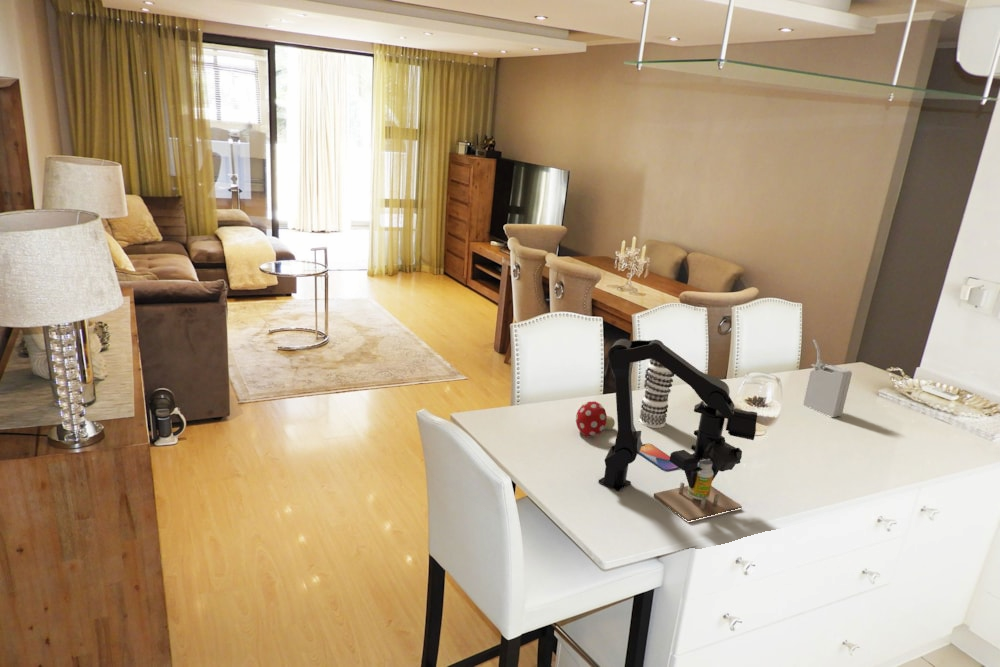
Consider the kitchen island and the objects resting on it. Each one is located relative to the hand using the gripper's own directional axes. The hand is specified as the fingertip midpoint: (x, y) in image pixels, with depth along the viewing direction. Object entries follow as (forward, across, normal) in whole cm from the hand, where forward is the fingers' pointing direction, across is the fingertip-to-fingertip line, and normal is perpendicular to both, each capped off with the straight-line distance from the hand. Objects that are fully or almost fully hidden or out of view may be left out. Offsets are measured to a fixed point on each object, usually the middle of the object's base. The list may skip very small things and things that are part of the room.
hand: (699, 486), depth 170 cm
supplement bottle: (+3, 0, 0) cm, 3 cm away
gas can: (+5, +92, +36) cm, 99 cm away
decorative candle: (+5, +22, +45) cm, 50 cm away
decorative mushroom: (+5, 0, +44) cm, 44 cm away
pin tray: (+5, 0, 0) cm, 5 cm away
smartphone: (+6, +7, +24) cm, 25 cm away
